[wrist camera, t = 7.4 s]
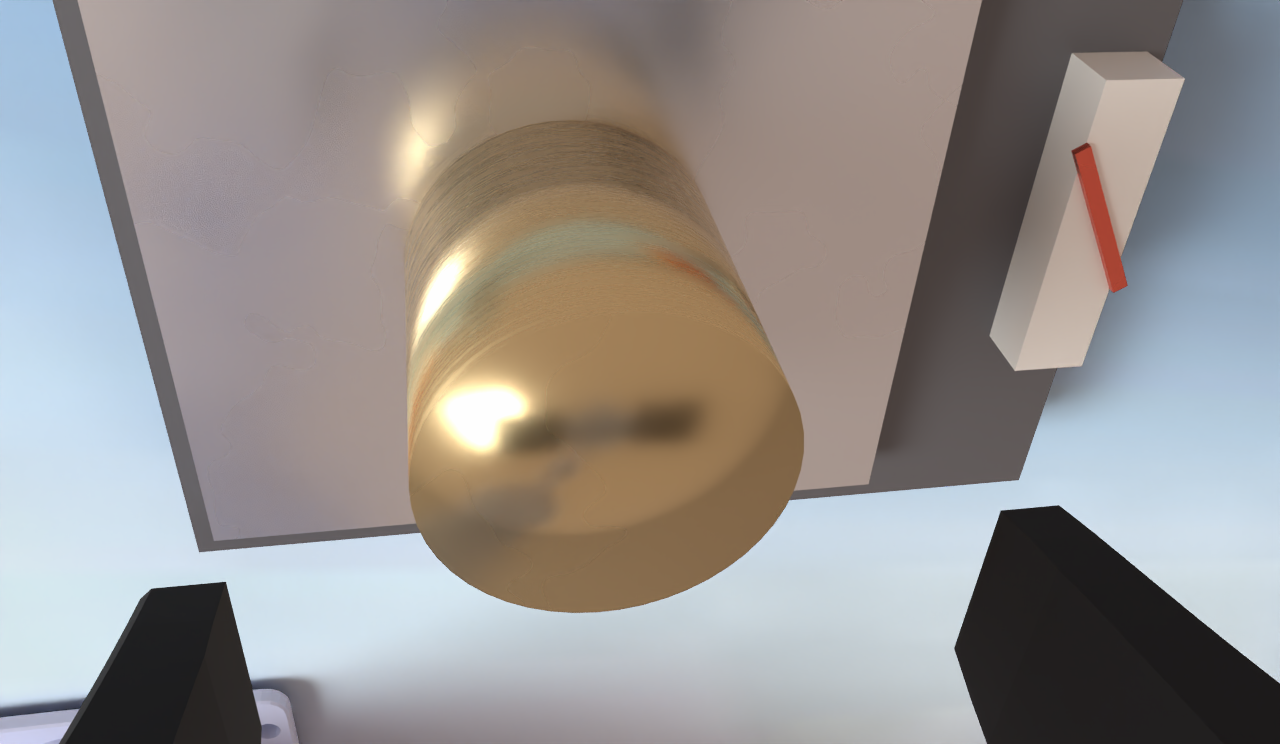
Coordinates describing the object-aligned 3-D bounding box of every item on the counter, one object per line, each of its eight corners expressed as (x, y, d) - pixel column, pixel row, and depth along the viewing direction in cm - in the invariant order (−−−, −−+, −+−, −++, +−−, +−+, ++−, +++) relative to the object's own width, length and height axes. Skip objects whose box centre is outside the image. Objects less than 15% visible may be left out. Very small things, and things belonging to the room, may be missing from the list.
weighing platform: (857, 461, 20) (868, 484, 20) (218, 514, 18) (213, 540, 18) (989, -131, 14) (1009, -119, 14) (59, -141, 12) (45, -127, 12)
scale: (976, 414, 23) (1045, 521, 21) (213, 473, 21) (189, 602, 18) (1172, -242, 16) (1313, -197, 13) (33, -276, 13) (-47, -228, 11)
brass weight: (712, 367, 18) (792, 582, 14) (428, 404, 17) (439, 637, 13) (716, 104, 15) (817, 288, 11) (379, 138, 14) (375, 342, 11)
